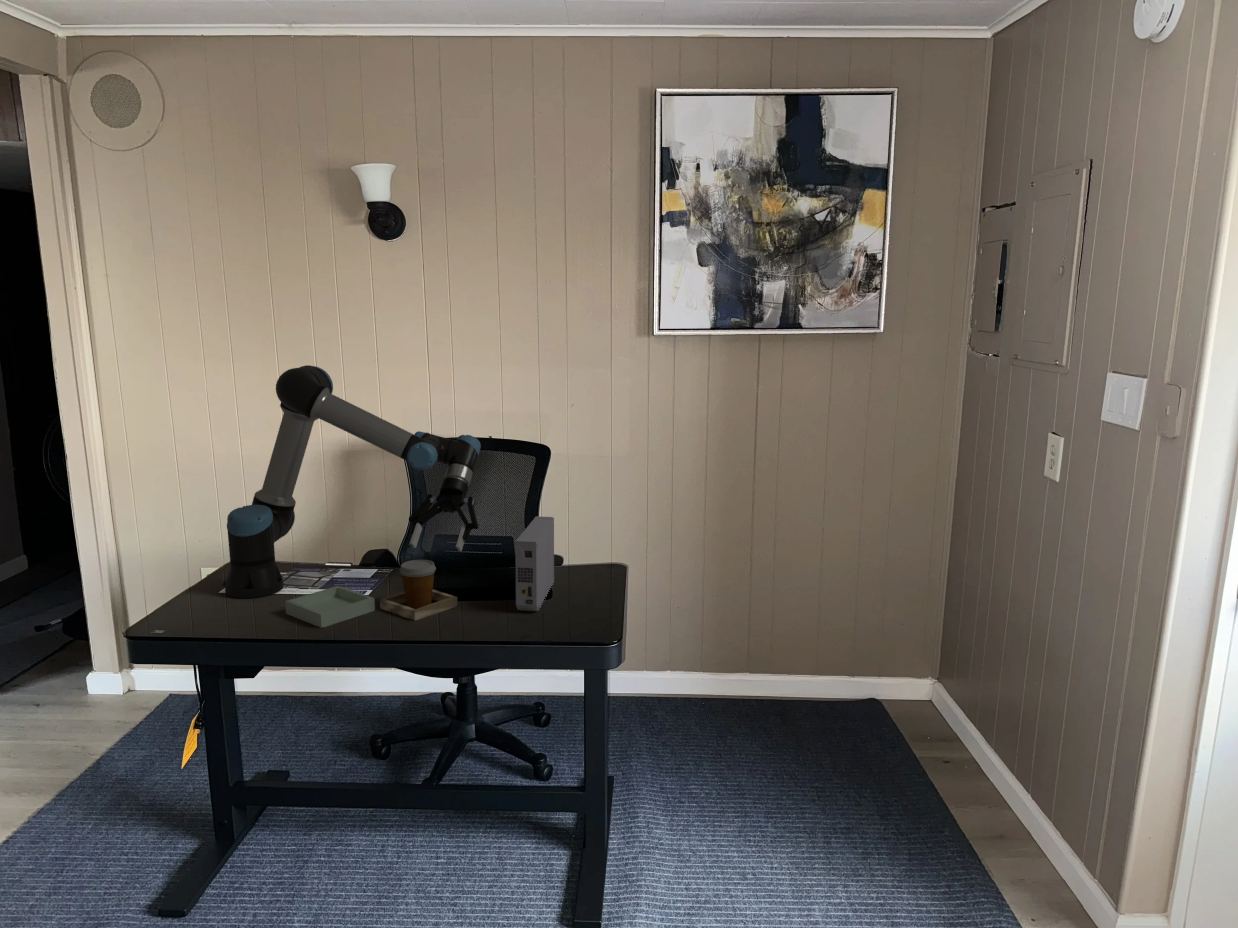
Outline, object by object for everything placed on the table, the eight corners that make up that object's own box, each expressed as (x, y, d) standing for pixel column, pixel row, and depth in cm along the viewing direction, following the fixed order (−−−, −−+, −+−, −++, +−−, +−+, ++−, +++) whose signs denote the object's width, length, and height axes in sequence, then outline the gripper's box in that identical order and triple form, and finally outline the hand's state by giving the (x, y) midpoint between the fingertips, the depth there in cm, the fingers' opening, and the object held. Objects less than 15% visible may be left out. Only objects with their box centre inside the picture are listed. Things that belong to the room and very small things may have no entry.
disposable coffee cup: (420, 598, 230) (419, 557, 228) (444, 606, 225) (443, 563, 223) (393, 608, 223) (391, 565, 221) (417, 616, 217) (415, 571, 215)
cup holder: (380, 608, 222) (379, 599, 222) (422, 594, 234) (422, 586, 233) (415, 620, 214) (414, 611, 213) (457, 605, 225) (457, 596, 225)
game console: (555, 582, 246) (555, 516, 243) (537, 614, 219) (537, 541, 216) (536, 581, 247) (535, 516, 243) (516, 613, 220) (515, 541, 216)
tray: (286, 613, 218) (285, 600, 217) (339, 597, 230) (338, 585, 230) (321, 627, 208) (320, 614, 208) (374, 610, 221) (374, 597, 220)
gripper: (500, 492, 241) (481, 557, 229) (420, 488, 246) (398, 550, 235) (493, 478, 235) (473, 543, 223) (411, 473, 240) (388, 537, 228)
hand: (435, 547), depth 229 cm, fingers open, 13 cm apart
